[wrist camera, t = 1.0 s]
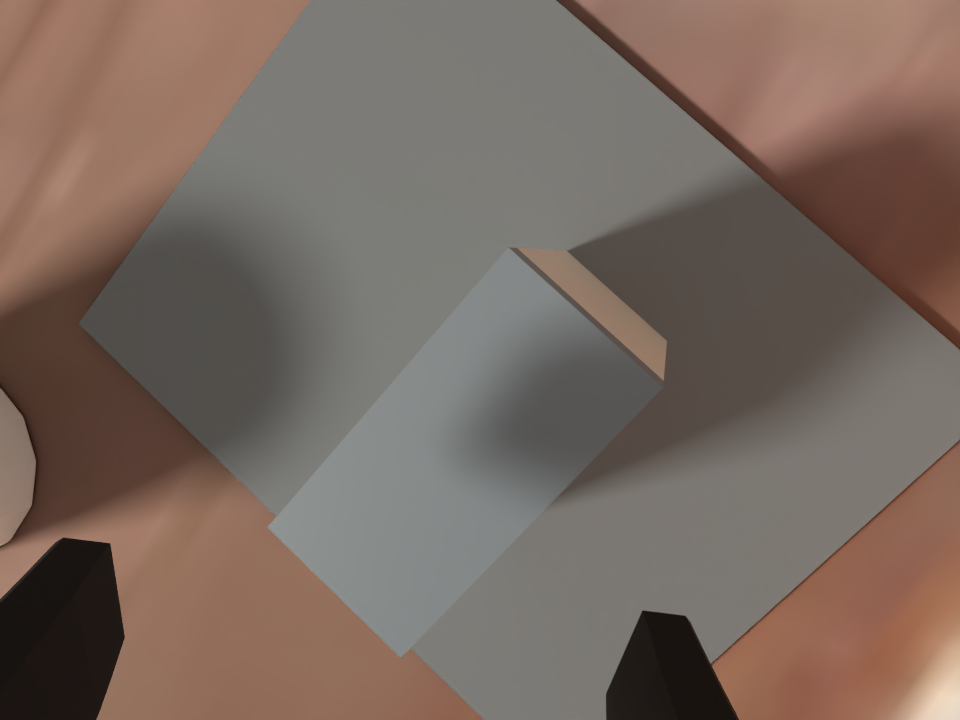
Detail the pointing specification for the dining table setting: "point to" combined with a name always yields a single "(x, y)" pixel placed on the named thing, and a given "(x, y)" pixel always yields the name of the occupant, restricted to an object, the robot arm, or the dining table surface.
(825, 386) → the mat
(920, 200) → the dining table surface
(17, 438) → the white cup
